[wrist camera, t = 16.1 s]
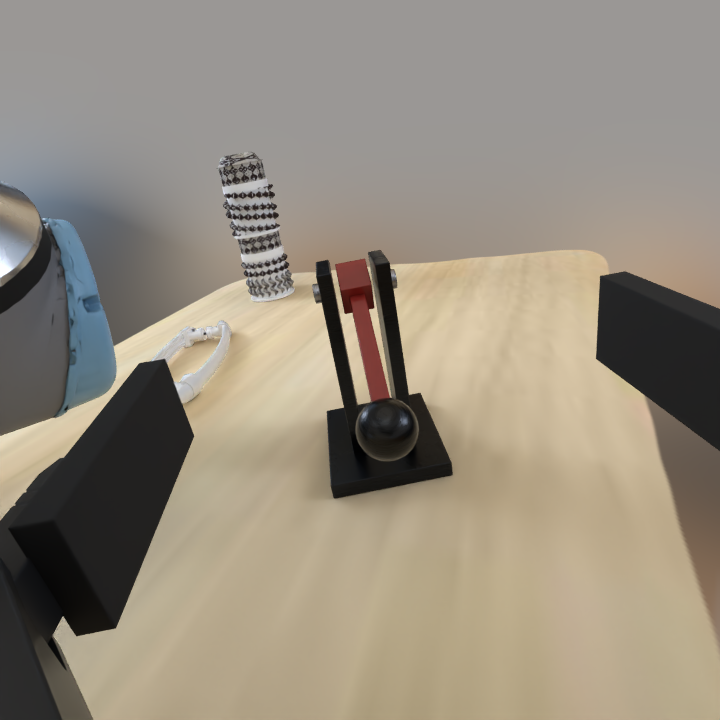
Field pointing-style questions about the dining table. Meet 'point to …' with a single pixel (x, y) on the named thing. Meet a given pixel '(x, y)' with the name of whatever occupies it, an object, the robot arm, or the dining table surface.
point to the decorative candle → (255, 226)
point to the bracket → (346, 456)
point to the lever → (375, 375)
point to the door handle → (195, 382)
